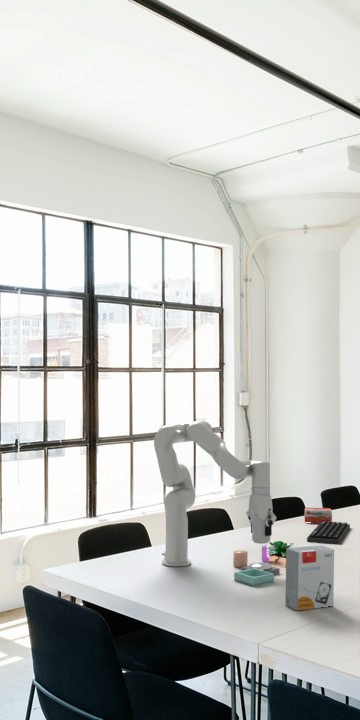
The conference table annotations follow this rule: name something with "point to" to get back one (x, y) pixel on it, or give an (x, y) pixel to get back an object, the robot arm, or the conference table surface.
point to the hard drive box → (309, 577)
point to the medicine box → (318, 515)
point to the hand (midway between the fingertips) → (261, 533)
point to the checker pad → (260, 566)
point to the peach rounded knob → (240, 558)
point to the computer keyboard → (329, 532)
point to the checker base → (272, 570)
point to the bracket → (265, 553)
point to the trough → (254, 577)
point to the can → (259, 530)
